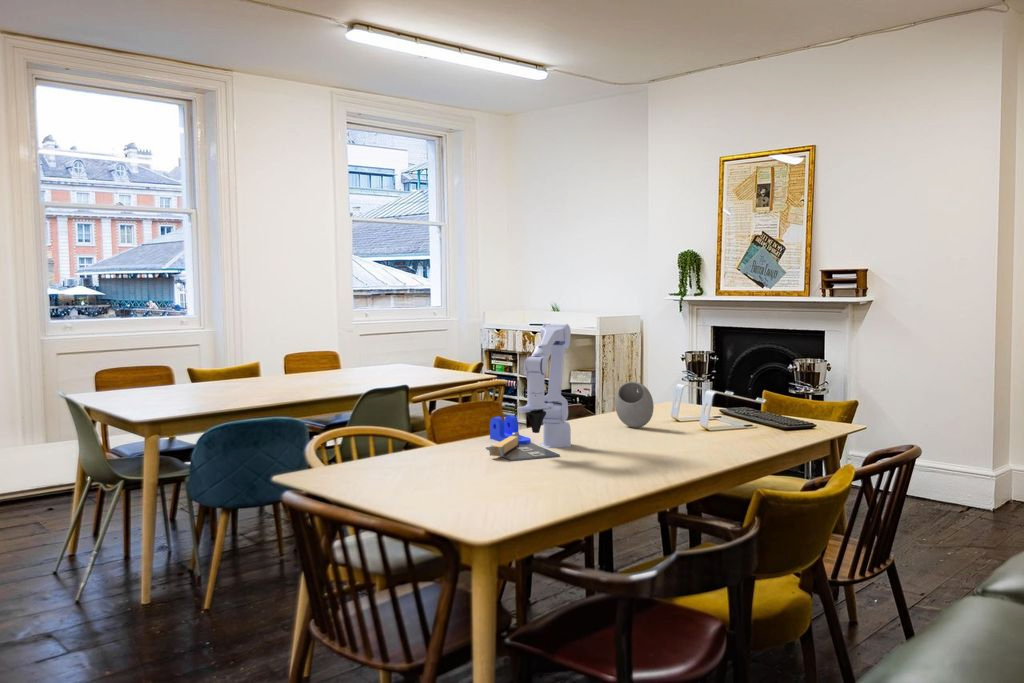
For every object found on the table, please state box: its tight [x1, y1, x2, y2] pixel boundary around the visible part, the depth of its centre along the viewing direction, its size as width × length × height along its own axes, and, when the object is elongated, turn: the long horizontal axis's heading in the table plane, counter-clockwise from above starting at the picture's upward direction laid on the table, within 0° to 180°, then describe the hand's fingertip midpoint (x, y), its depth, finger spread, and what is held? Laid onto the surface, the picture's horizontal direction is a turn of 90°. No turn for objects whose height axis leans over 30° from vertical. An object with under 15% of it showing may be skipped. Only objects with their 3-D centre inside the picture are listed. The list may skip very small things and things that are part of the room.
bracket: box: [489, 414, 531, 444], centre depth 306 cm, size 18×8×9 cm, turn 32°
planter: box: [614, 381, 654, 429], centre depth 335 cm, size 18×7×19 cm, turn 46°
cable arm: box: [489, 436, 518, 457], centre depth 283 cm, size 20×4×3 cm, turn 163°
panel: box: [485, 431, 561, 462], centre depth 284 cm, size 18×22×6 cm
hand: (535, 432), depth 278 cm, fingers closed
